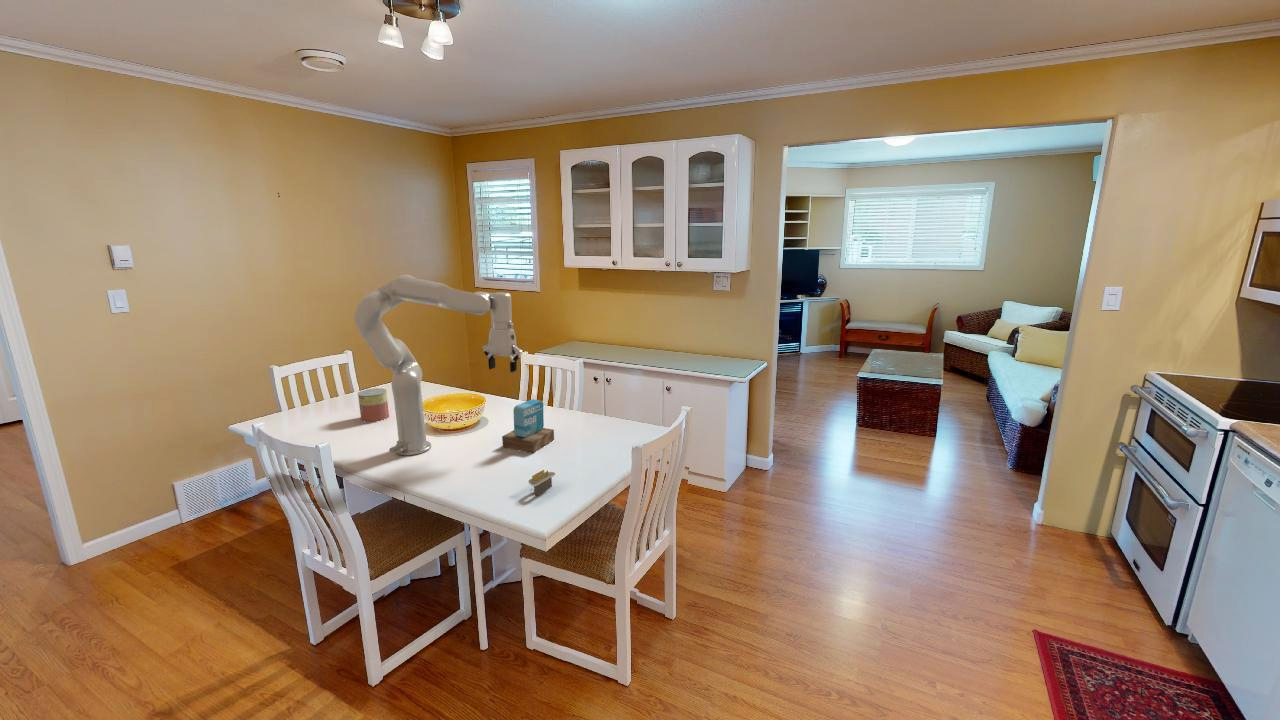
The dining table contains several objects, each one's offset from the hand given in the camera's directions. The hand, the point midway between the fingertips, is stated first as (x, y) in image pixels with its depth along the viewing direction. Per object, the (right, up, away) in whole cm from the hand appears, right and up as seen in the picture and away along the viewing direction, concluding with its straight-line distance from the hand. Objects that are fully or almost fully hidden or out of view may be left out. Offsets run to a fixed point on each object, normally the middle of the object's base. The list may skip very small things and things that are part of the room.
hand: (502, 369), depth 210 cm
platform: (+21, -38, -35) cm, 56 cm away
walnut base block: (+9, -29, +3) cm, 31 cm away
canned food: (-64, -22, +31) cm, 74 cm away
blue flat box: (+10, -24, +1) cm, 26 cm away
